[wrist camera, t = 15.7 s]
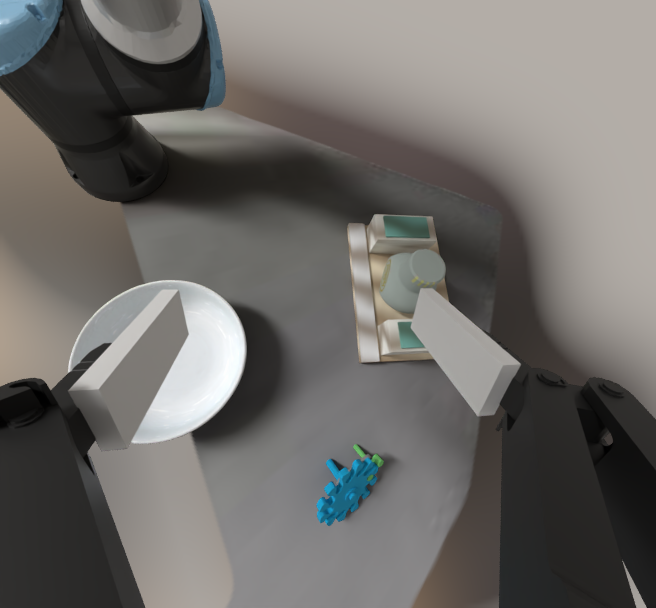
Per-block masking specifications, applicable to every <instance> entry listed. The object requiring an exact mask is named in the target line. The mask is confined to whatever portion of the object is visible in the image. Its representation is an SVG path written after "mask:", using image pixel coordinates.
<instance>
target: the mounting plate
mask: <svg viewBox="0 0 656 608" xmlns="http://www.w3.org/2000/svg"><path fill="white" fill-rule="evenodd" d="M347 231H348V242H349V253H350V264H351V275H352V286H353V297H354V308H355V319H356V330H357V340H358V351H359V362H360V363H369V362H388V361H408V360H427V359H434V358H433V357H432V355H431V354H430V353H429V351H428V350H427V349H426V347H425V346H424V345H423V344H422V342H421V341H420V340H419V338H418V337H417V336H416V334H415V333H414V332H413V330H412V329H411V324H412V320H413V316H414V314H407V313H402V312H399V311H397V310H395V309H393V308H391V307H390V306H389V305H388V304H387V303H385V301H384V300H383V299H382V297H381V295H380V293H379V290H380V283H381V278H382V275H383V271H384V268H385V266H386V263H387V261H388V259H389V258H390V257H391V256H393V255H395V254H398V253H414V252H415V251H417V250H419V249H421V250H422V249H427V250H432V251H434V252H436V253H437V254H438V255H439V256H440V253H439V248H438V243H437V237H436V232H435V227H434V222H433V217H429V216H406V215H383V214H374V216H373V218H372V220H371V222H370V224H369V225H364V223H349V224H348V227H347ZM436 292H437V293H439V294H440V295H441V296H442V297H443V298H444V299H446V300H447V301H448V302H449V299H448V294H447V289H446V284H445V279H444V278H443V280H442V281H441V282H439V283H438V284H437V288H436Z"/></svg>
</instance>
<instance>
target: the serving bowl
mask: <svg viewBox="0 0 656 608" xmlns="http://www.w3.org/2000/svg"><path fill="white" fill-rule="evenodd" d="M178 289H179V293H180V297H181V302H182V306H183V310H184V315H185V319H186V324H187V328H188V333H189V335H188V337H187V339H186V341H185V343H184V345H183V346H182V348H181V350H180V352H179V354H178V356H177V358H176V359H175V361H174V363H173V365H172V367H171V369H170V371H169V372H168V374H167V376H166V378H165V380H164V382H163V384H162V385H161V387H160V389H159V391H158V393H157V395H156V397H155V398H154V400H153V402H152V404H151V406H150V408H149V410H148V411H147V413H146V415H145V417H144V419H143V421H142V423H141V424H140V426H139V428H138V430H137V432H136V434H135V436H134V437H133V439H132V441H131V443H136V444H151V443H159V442H164V441H168V440H172V439H175V438H178V437H181V436H183V435H185V434H188V433H190V432H192V431H194V430H195V429H197V428H199V427H200V426H202V425H203V424H205V423H206V422H208V421H209V420H210V419H211V418H213V417H214V416H215V415H216V414H217V413H218V412H219V411H220V410H221V409H222V408H223V407H224V405H225V404H226V403H227V402H228V401H229V399H230V398H231V396H232V395H233V393H234V392H235V390H236V388H237V386H238V384H239V382H240V380H241V377H242V375H243V371H244V368H245V363H246V356H247V343H246V336H245V332H244V328H243V326H242V323H241V321H240V319H239V317H238V315H237V313H236V312H235V310H234V309H233V308H232V307H231V305H230V304H229V303H228V302H227V301H226V300H225V299H224V298H222V297H221V296H220V295H219V294H217V293H216V292H214V291H213V290H211V289H209V288H207V287H204V286H202V285H199V284H196V283H192V282H188V281H180V280H163V281H156V282H151V283H146V284H143V285H140V286H137V287H134V288H132V289H130V290H128V291H125V292H123V293H121V294H120V295H118V296H117V297H115V298H113V299H112V300H110V301H109V302H108V303H106V304H105V305H104V306H103V307H102V308H100V309H99V310H98V311H97V312H96V313H95V314H94V315H93V316H92V317H91V319H90V320H89V321H88V322H87V324H86V325H85V326H84V328H83V329H82V331H81V332H80V334H79V336H78V338H77V340H76V342H75V345H74V347H73V350H72V353H71V357H70V361H69V368H68V369H69V371H68V373H69V372H70V371H72V369H73V368H74V367H75V366H76V365H77V364H78V363H80V361H81V360H82V359H83V358H84V357H85V356H86V355H87V354H88V353H89V352H90V351H92V350H93V349H95V348H97V347H98V346H100V345H102V344H104V343H113V342H114V341H115V340H116V339H117V338H118V337H119V335H120V334H121V333H122V332H123V331H124V330H125V329H126V328H127V327H128V326H129V325H130V324H131V323H132V322H133V320H134V319H135V318H136V317H137V316H138V315H139V314H140V313H141V312H142V311H143V310H144V309H145V308H146V306H147V305H148V304H149V303H150V302H151V301H152V300H153V299H154V298H155V297H156V296H157V295H158V294H159V293H160V291H161V290H178Z"/></svg>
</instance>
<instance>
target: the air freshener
mask: <svg viewBox="0 0 656 608" xmlns="http://www.w3.org/2000/svg"><path fill="white" fill-rule="evenodd" d="M445 273H446V266H445V263H444V261H443V259H442V258H441V257H440V256H439V255H438V254H437V253H436V252H434V251H432V250H427V249H422V250H421V249H419V250H417V251H415V252H414V253H398V254H395V255H393V256H391V257H390V258H389V259H388V261H387V263H386V266H385V268H384V271H383V275H382V278H381V283H380V290H379V293H380V295H381V297H382V299H383V300H384V301H385V303H387V304H388V305H389V306H390V307H391V308H393V309H395V310H397V311H399V312H402V313H407V314H414V312H415V308H416V304H417V300H418V296H419V293H420V289H421V288H433V289H434V290H435V291H436V288H437V284H438V283H439V282H441V281H442V280H443V278H444V277H445Z"/></svg>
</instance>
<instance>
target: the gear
mask: <svg viewBox="0 0 656 608" xmlns="http://www.w3.org/2000/svg"><path fill="white" fill-rule="evenodd" d="M353 448H354V449H355V450H356V452H357V453H358V454H359V455H360V457H361V459H357V460H355V461H354V462H353V465H352V467H351V468H350V469H349V470H348V469H347V468H346V467H345V468H343V469H342V470H340V471H339V469H338V468H337V466H336V465H335V464H334V462H333V461H332V459H329V460H328V461H327V462H326V465H327V466H328V468H329V469H330V471H331V472H332V474H333V475H334V477H335V478H336V480H337V482H336V484H337V486H335V485H334V483H333V482H330V483H329V484H328V485H327V486H326V487H325V488H324V490H325V492H326V493H327V495H328V496H331V497H330V498H329V499H327V500H326V499H325V498H324V497H322V498H320V499H319V501H318V503H317V505H316V506H317V508H318V510H319V511H318V512H317V518H318V519H319V521H320V523H322V522H324V521H325V522H326V524H327V525H328V526H330V525H331V524H332V523H333V522H334V520H335V519H337V520H338V522H340V521H342V520H344V519H345V517H346V513H347V511H348V509H350V510H351V512H353V511H355V510H356V509H357V508H358V507H359V505H358V499H359V497H360V496H362V498H363V499H365V498H366V497H367V496H368V495H369V494H370V491H369V490H368V489H367V487H366V485H367V484H370V485H371V486H372V485H374V484H375V482H376V480H377V477H376V476H375V474H376V473H377V472H378V467H381V466H382V465H383V463H384V461H383V460H382V459H381V458H380V457H379V455H378V454H375V455H374V456H373V457H371V456H370V454H366V455H365V453H364V452H363V451H362V450H361V449H360V447H359V446H358V445H357V444H356V445H354V447H353ZM375 463H376V464H375Z"/></svg>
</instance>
